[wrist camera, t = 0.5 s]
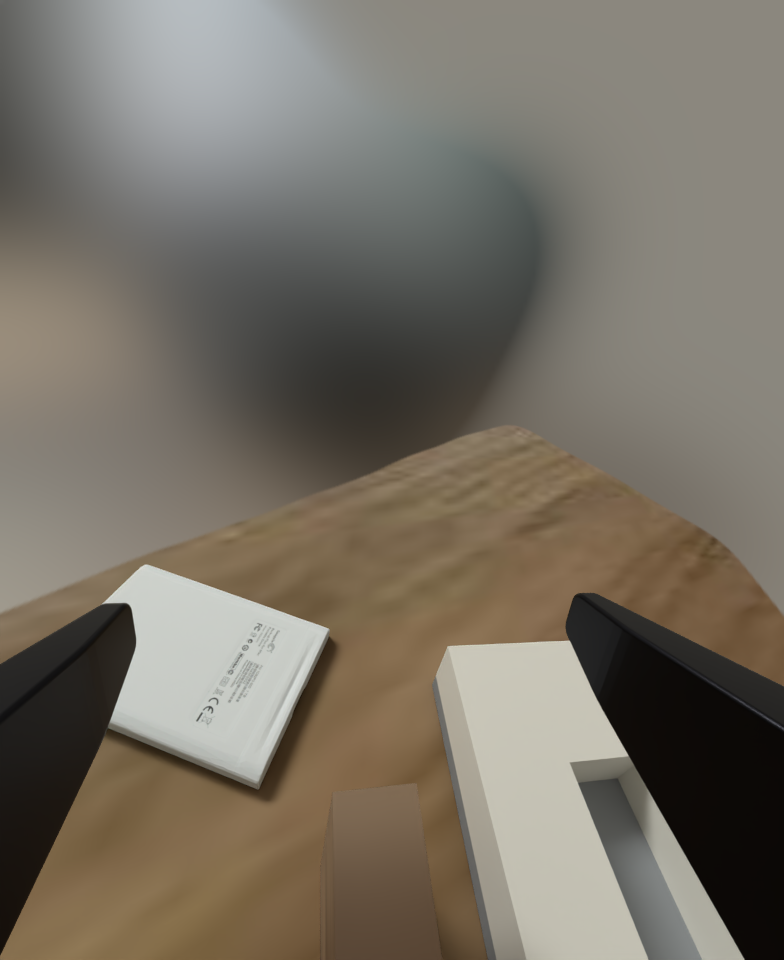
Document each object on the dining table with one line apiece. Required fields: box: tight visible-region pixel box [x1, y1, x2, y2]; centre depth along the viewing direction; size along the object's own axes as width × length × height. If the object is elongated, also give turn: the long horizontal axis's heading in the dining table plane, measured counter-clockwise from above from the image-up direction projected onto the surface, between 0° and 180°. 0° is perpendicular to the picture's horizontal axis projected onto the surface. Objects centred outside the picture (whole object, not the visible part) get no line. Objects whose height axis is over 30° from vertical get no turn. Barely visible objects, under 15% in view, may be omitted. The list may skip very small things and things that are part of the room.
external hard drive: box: [103, 565, 330, 790], centre depth 23 cm, size 2×8×12 cm
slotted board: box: [432, 641, 744, 960], centre depth 15 cm, size 22×12×4 cm, turn 7°
